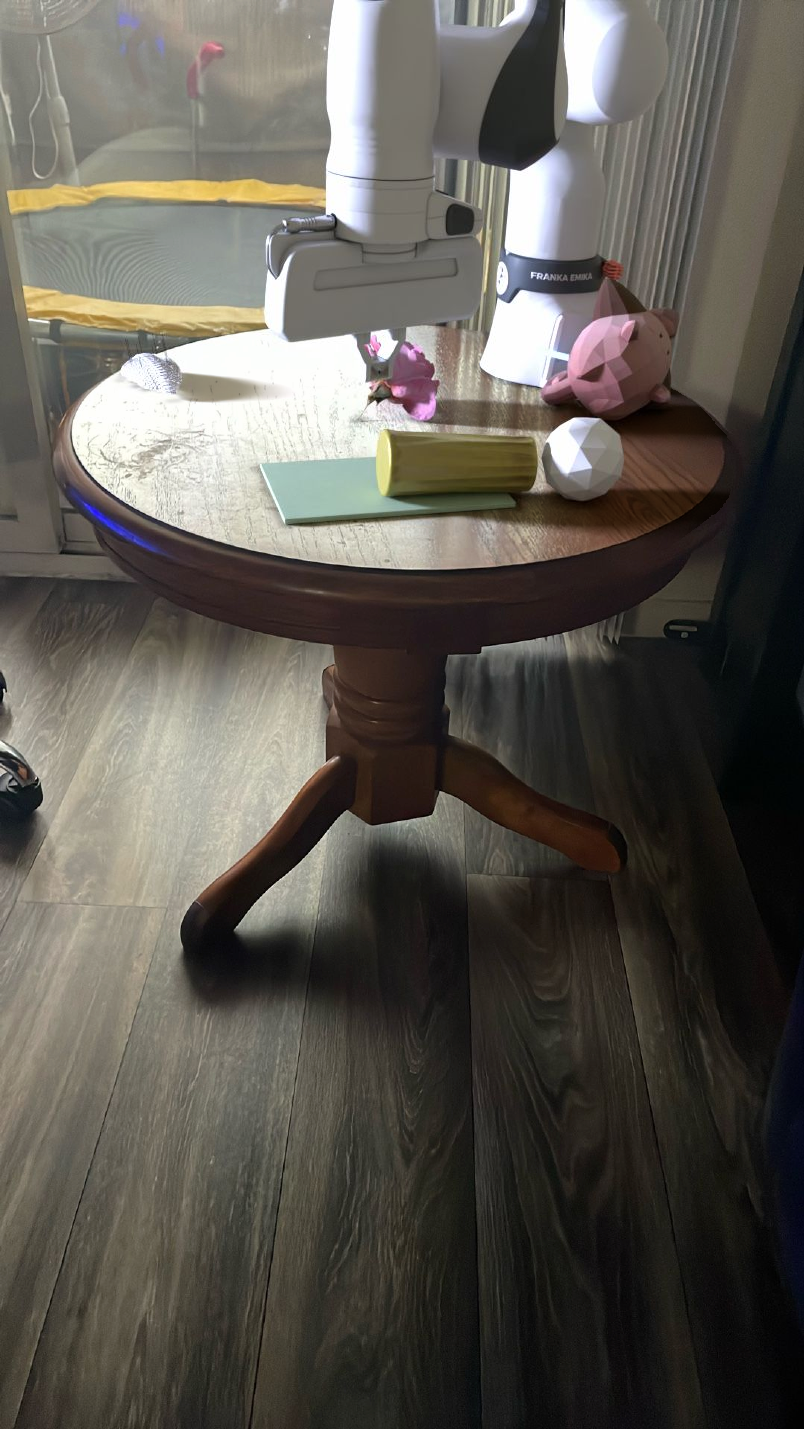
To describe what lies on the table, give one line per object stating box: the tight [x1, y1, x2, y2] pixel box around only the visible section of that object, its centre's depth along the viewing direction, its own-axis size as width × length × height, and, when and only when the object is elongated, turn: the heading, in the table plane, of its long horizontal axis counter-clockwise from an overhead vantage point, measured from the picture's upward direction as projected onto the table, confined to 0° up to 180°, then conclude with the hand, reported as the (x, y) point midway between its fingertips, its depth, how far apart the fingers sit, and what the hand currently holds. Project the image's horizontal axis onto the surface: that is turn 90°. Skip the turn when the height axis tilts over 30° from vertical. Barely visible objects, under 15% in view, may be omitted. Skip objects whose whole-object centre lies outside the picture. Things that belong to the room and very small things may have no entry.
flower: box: [356, 334, 441, 422], centre depth 115 cm, size 11×10×10 cm
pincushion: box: [120, 332, 184, 395], centre depth 118 cm, size 12×6×6 cm, turn 32°
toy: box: [539, 277, 680, 421], centre depth 118 cm, size 17×16×15 cm
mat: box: [259, 456, 516, 525], centre depth 99 cm, size 22×13×1 cm, turn 106°
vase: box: [375, 428, 539, 497], centre depth 96 cm, size 6×6×14 cm
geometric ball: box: [540, 417, 625, 502], centre depth 98 cm, size 8×8×8 cm
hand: (374, 379), depth 93 cm, fingers closed
